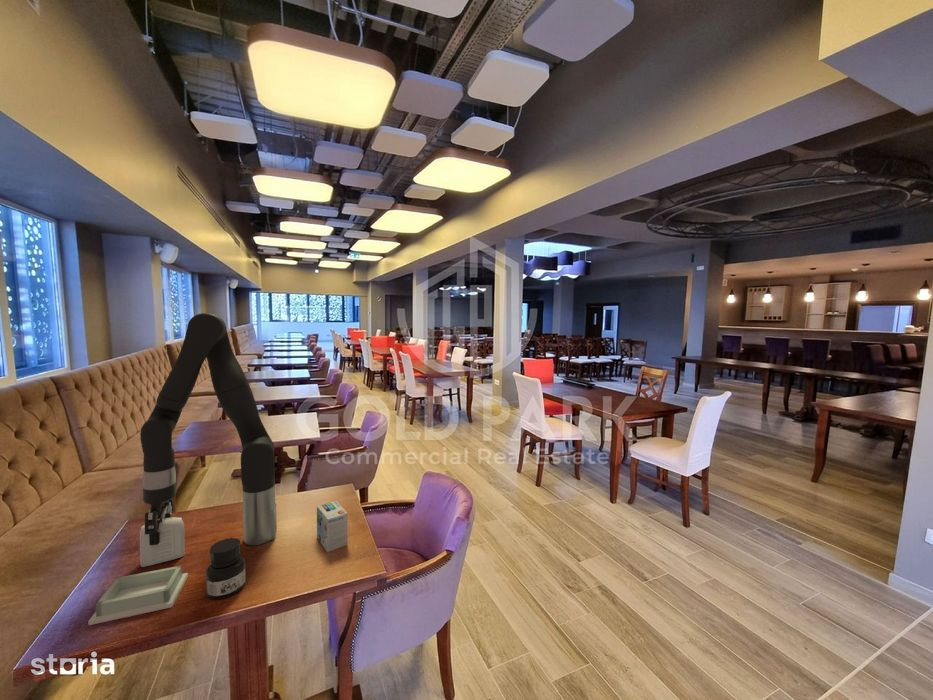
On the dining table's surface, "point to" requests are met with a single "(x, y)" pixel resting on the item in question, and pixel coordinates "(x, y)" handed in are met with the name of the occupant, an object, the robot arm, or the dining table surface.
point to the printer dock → (139, 594)
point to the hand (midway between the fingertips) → (160, 536)
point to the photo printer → (163, 543)
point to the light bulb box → (332, 526)
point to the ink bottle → (225, 569)
